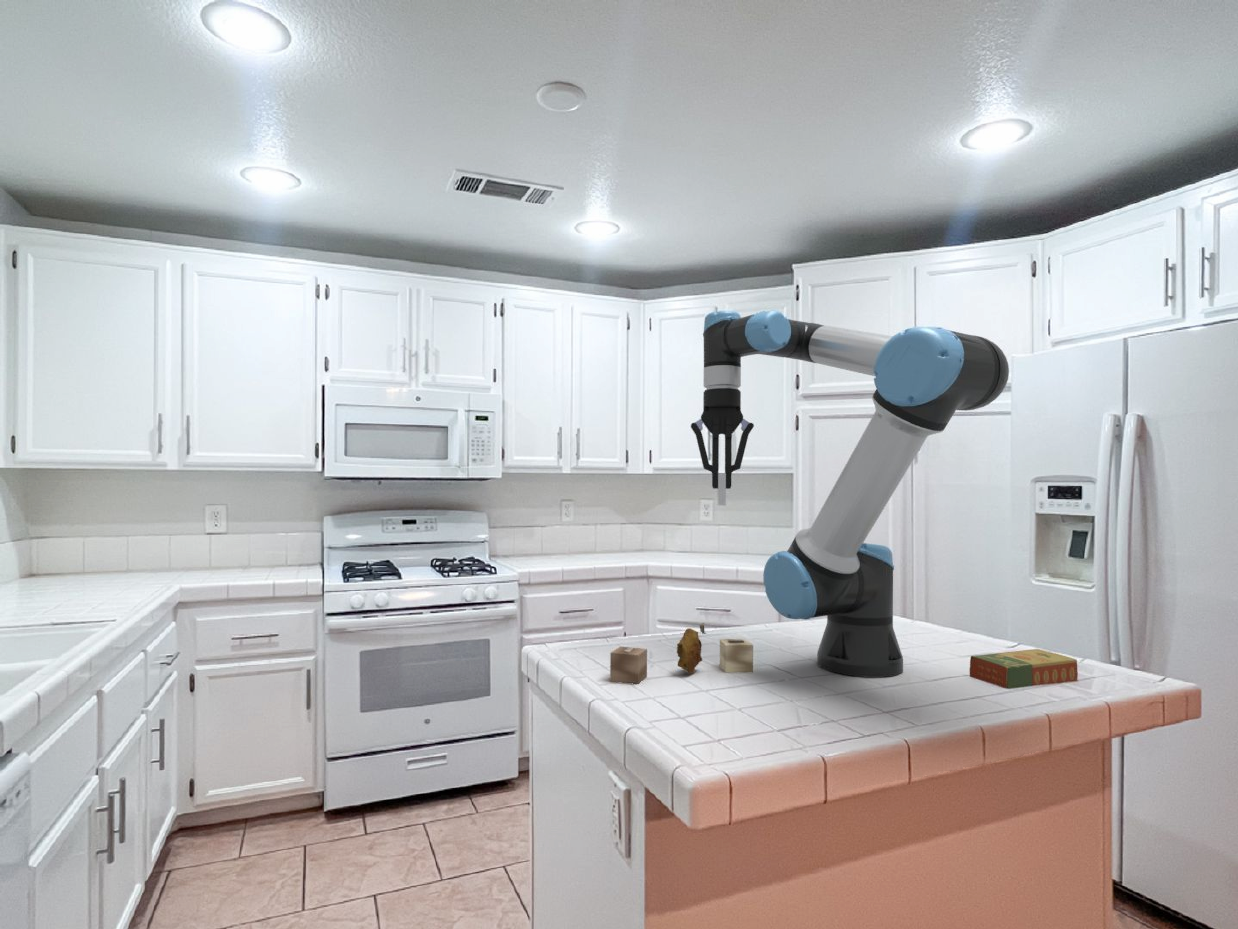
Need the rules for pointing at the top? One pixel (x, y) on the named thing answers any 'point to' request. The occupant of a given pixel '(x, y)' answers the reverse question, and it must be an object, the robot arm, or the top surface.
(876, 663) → the robot arm
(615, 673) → the block walnut
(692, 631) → the rock
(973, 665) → the carton
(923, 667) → the top surface
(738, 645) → the block maple
